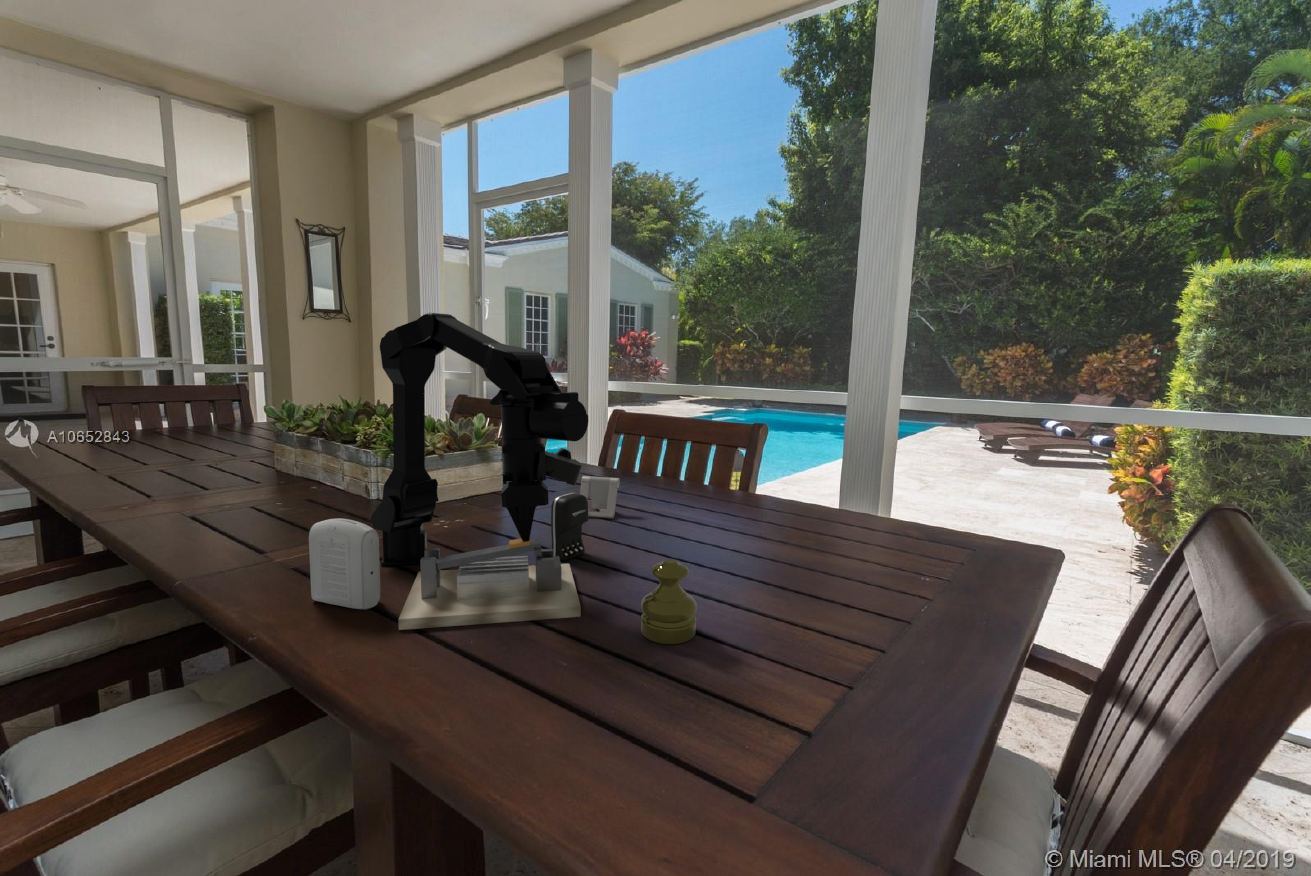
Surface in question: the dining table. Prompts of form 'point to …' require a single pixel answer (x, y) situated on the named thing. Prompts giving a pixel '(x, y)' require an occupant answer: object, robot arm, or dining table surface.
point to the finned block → (493, 579)
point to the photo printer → (344, 563)
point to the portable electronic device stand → (601, 494)
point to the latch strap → (491, 553)
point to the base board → (488, 604)
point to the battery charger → (568, 525)
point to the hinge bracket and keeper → (545, 573)
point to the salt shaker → (669, 606)
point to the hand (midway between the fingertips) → (525, 539)
